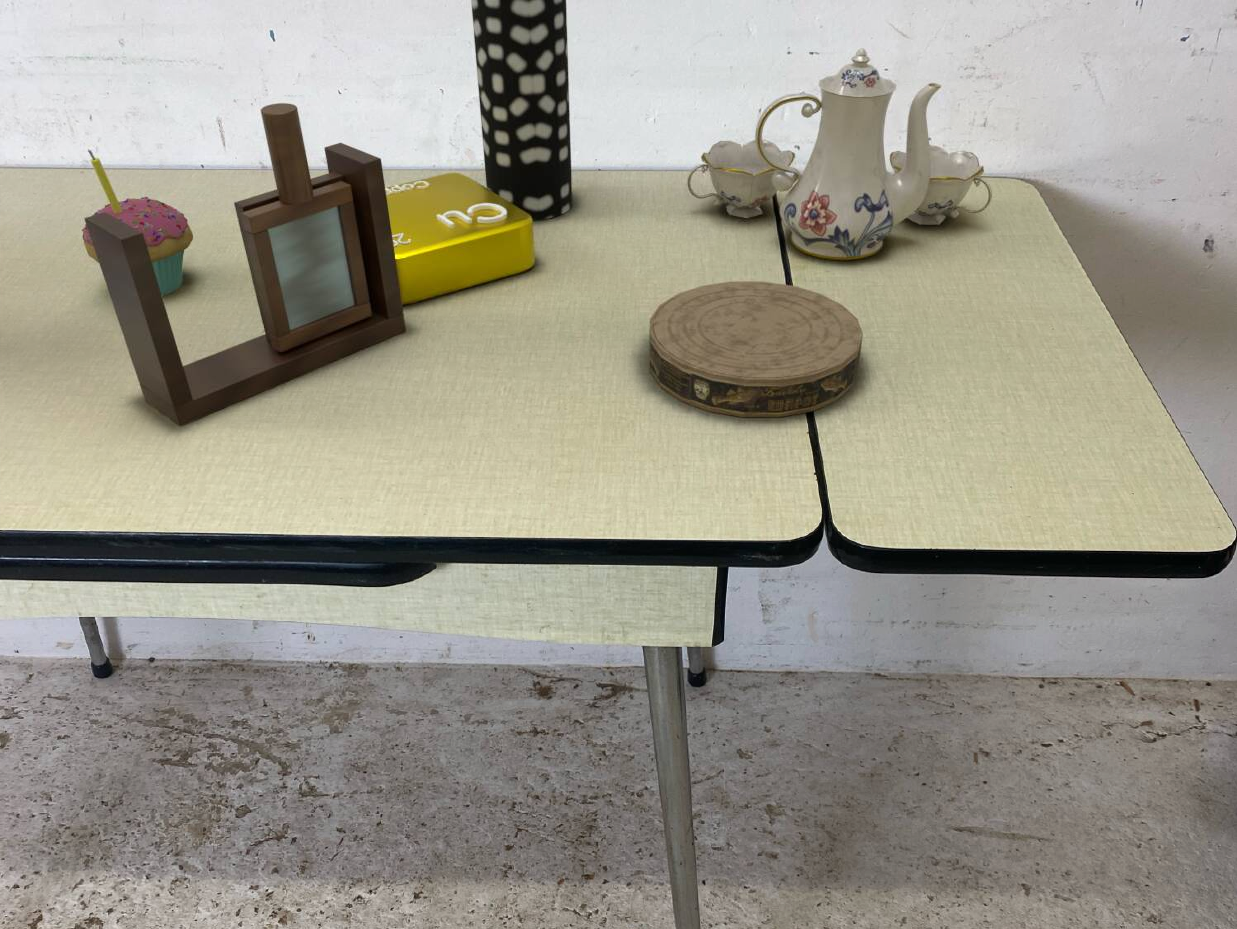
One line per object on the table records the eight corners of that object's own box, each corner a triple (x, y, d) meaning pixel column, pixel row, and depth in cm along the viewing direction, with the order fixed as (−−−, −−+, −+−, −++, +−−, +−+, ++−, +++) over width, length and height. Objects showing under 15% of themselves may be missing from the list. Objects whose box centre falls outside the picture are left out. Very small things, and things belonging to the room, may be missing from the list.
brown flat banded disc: (700, 301, 91) (701, 266, 89) (883, 341, 85) (890, 306, 83) (611, 386, 80) (611, 349, 78) (815, 438, 75) (820, 400, 73)
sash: (285, 355, 80) (232, 127, 70) (267, 345, 82) (213, 118, 71) (377, 318, 85) (341, 98, 74) (359, 308, 86) (321, 90, 75)
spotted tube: (543, 227, 103) (532, -12, 89) (471, 210, 106) (449, -23, 92) (587, 198, 108) (583, -31, 95) (517, 183, 111) (503, -41, 98)
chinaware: (963, 213, 109) (996, 26, 99) (1008, 267, 95) (1052, 56, 86) (684, 212, 109) (690, 26, 100) (690, 265, 96) (697, 56, 86)
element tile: (463, 214, 105) (458, 163, 102) (544, 267, 96) (541, 213, 93) (318, 250, 99) (308, 197, 96) (389, 311, 90) (380, 255, 86)
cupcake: (155, 315, 89) (109, 166, 81) (78, 297, 92) (26, 151, 84) (224, 275, 95) (188, 132, 87) (150, 258, 98) (108, 118, 90)
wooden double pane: (179, 426, 76) (120, 239, 67) (145, 401, 79) (83, 217, 70) (406, 330, 87) (381, 158, 78) (369, 311, 90) (340, 142, 81)
